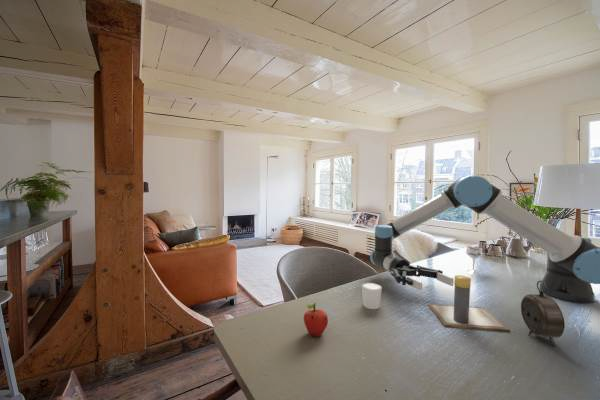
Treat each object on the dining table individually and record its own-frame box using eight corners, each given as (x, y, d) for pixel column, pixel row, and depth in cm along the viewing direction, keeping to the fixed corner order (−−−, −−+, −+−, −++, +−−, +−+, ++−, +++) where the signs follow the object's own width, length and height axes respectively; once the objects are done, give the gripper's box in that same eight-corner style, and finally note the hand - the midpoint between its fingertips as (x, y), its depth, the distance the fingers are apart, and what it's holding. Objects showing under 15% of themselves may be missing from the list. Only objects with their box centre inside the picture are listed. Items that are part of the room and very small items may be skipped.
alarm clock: (564, 350, 68) (569, 289, 67) (540, 347, 69) (544, 287, 68) (536, 328, 78) (539, 274, 78) (515, 326, 80) (518, 273, 79)
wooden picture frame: (483, 309, 90) (483, 307, 90) (510, 331, 76) (510, 329, 76) (428, 305, 93) (428, 303, 93) (444, 326, 79) (444, 324, 79)
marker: (464, 317, 83) (466, 275, 82) (471, 324, 79) (473, 280, 78) (450, 316, 83) (452, 274, 83) (456, 323, 79) (458, 279, 79)
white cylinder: (382, 303, 94) (383, 284, 94) (379, 311, 88) (380, 291, 87) (363, 299, 97) (363, 281, 97) (359, 307, 91) (359, 287, 90)
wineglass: (484, 274, 126) (486, 249, 125) (470, 274, 126) (471, 249, 126) (475, 269, 133) (476, 246, 132) (462, 269, 133) (463, 246, 132)
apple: (303, 327, 78) (304, 294, 77) (326, 327, 78) (327, 294, 77) (303, 342, 70) (303, 306, 70) (328, 343, 70) (329, 306, 70)
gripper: (420, 272, 114) (464, 290, 94) (370, 277, 107) (406, 299, 86) (421, 255, 114) (465, 270, 93) (371, 259, 106) (407, 277, 86)
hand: (437, 284), depth 90 cm, fingers open, 13 cm apart
